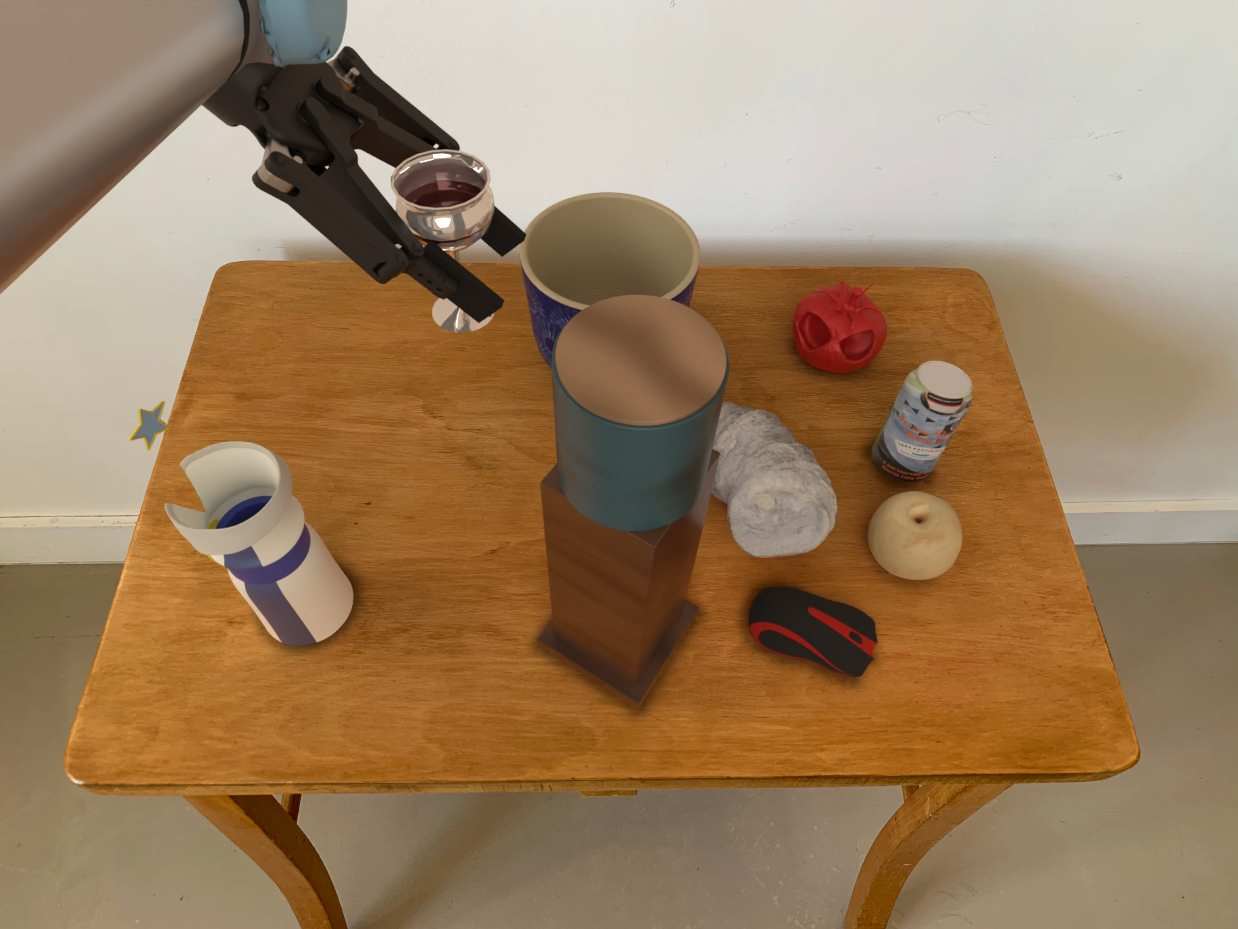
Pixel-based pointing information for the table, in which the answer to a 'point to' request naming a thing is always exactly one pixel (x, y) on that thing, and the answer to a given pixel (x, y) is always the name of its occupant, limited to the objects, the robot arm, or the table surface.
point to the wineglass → (445, 212)
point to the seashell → (770, 485)
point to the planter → (603, 258)
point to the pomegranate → (838, 328)
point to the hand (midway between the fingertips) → (502, 277)
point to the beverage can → (922, 421)
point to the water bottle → (259, 536)
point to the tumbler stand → (629, 485)
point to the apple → (915, 535)
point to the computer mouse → (813, 629)
